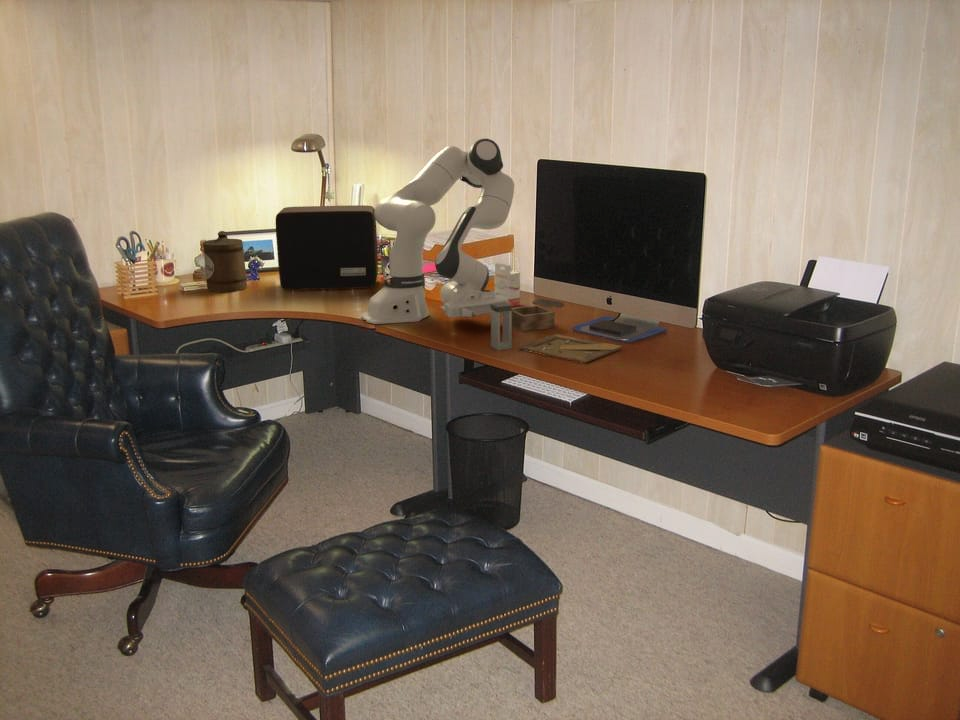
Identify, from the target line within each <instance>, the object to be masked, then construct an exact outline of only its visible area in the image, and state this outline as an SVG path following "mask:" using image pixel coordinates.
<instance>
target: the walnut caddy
mask: <svg viewBox="0 0 960 720" xmlns="http://www.w3.org/2000/svg"><path fill="white" fill-rule="evenodd" d="M512 328H514V329H516V330H518V331H519V332H531V331H537V330H538V331H539V330H547V329H548V330H549V329H554V328H555V312H554V311H552V310H550V309H548V308H546V307H544V306H541V305H539V304H535V305H534V304H533V305H526V306H515V307H512Z"/></svg>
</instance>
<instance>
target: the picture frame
mask: <svg viewBox="0 0 960 720" xmlns="http://www.w3.org/2000/svg"><path fill="white" fill-rule="evenodd" d="M622 348H623V346H622V345H619V344H614V343H608V342H599V341H593V340H589V339H583V338H578V337H574V336H573V337H572V336H569V335H563V334H558V333H554V334H551V335H549V336H546V337H543V338H540V339H537V340H534V341H531V342H529V343H526V344H523V345H520V346H518V350H519V349H522V350H527V351H532V352H537V353H541V354H545V355H550V356H554V357H558V358H557V359H559V358H564V359H568V360H573V361H577V362H582V363H586V364H588V363H590V362H593V361H595V360H598V359H600V358H602V356H603V357H604V356H607V355H611V354H613V353H614V352H617V351H619V350H622ZM522 350H521V351H522ZM545 355H544V356H545ZM550 356H549V357H550ZM554 357H553V358H554ZM597 358H598V359H597ZM568 360H567V361H568ZM592 360H593V361H592ZM573 361H572V362H573ZM589 361H590V362H589ZM577 362H576V363H577ZM587 362H588V363H587ZM582 363H581V364H582Z"/></svg>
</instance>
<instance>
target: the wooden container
mask: <svg viewBox="0 0 960 720" xmlns="http://www.w3.org/2000/svg"><path fill="white" fill-rule="evenodd" d="M217 236H218V237H217V238H216V239H209V240H205V241H203V242H202V247H203V256H204V257H203V258H204V270H205V279H206V288H207V290H208V291H209V292H213V293H230V292H231V293H232V292H238V291H239V292H240V291H241V290H245V289H246V288H248V283H247V270H246V263H245V255H244V242H243V240H242V239H239V238H229V237H227V236H228V234H227V232H226V231H224V230H221V231H220V230H219V231H218V232H217Z"/></svg>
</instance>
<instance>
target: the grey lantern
mask: <svg viewBox="0 0 960 720" xmlns="http://www.w3.org/2000/svg"><path fill="white" fill-rule="evenodd" d="M512 308H513V307H512V305H510V304H508V303H506V302H502V303H493V304H491V313H490V346H491V348H493V349H495V350H496V351H502V350H510V349H512V348H513V345H512V344H513V343H512V342H513V339H512V337H513V336H512V335H513V334H512V333H513V331H512V330H513V327H512ZM500 312H502V341H501V333H500V332H501V313H500Z"/></svg>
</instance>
